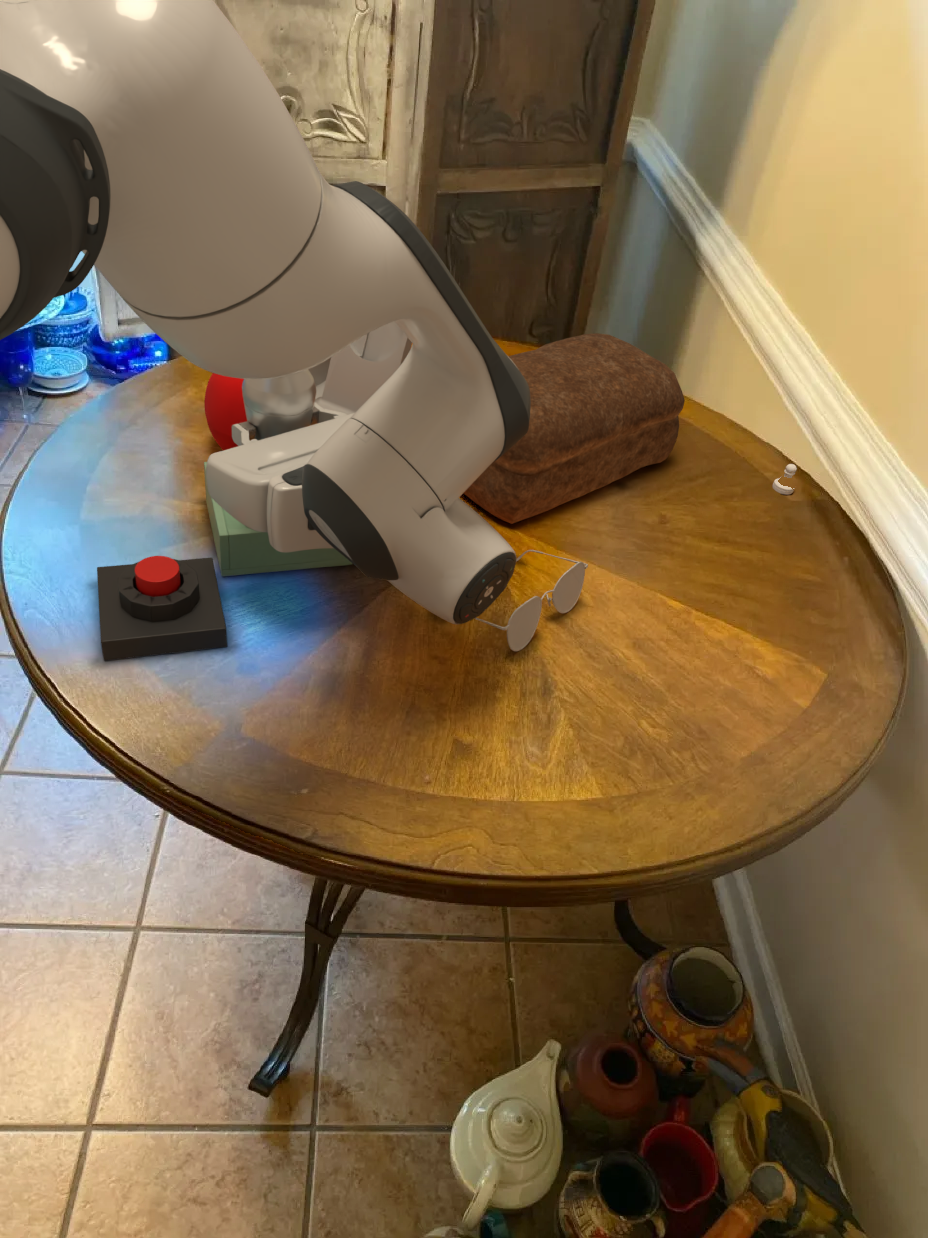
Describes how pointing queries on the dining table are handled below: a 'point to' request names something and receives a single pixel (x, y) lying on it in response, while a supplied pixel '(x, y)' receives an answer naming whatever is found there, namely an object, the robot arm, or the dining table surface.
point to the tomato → (224, 408)
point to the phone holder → (360, 369)
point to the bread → (582, 425)
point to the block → (160, 613)
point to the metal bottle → (279, 403)
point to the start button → (157, 576)
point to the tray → (258, 547)
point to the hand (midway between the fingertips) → (273, 420)
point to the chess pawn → (789, 472)
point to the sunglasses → (529, 612)
